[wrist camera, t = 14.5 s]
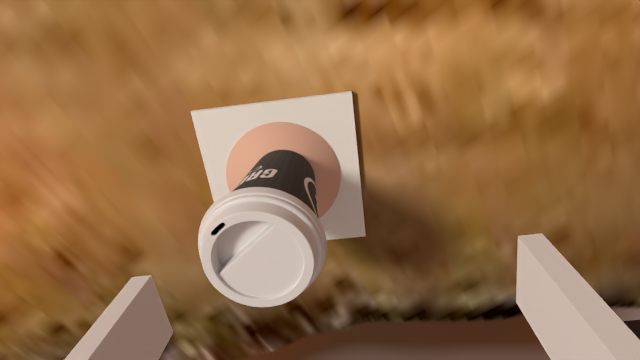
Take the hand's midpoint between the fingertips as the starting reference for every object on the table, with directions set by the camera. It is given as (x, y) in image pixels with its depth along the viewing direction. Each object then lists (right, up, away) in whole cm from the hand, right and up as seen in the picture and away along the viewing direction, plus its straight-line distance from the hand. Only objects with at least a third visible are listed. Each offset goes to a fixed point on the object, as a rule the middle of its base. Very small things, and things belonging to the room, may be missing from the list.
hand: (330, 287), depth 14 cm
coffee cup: (-4, +4, +27) cm, 28 cm away
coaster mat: (-4, +4, +28) cm, 28 cm away
